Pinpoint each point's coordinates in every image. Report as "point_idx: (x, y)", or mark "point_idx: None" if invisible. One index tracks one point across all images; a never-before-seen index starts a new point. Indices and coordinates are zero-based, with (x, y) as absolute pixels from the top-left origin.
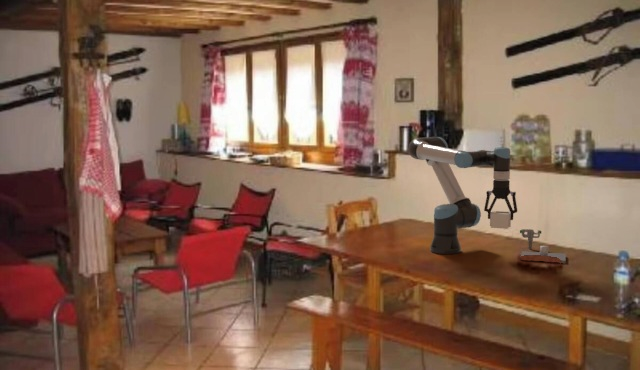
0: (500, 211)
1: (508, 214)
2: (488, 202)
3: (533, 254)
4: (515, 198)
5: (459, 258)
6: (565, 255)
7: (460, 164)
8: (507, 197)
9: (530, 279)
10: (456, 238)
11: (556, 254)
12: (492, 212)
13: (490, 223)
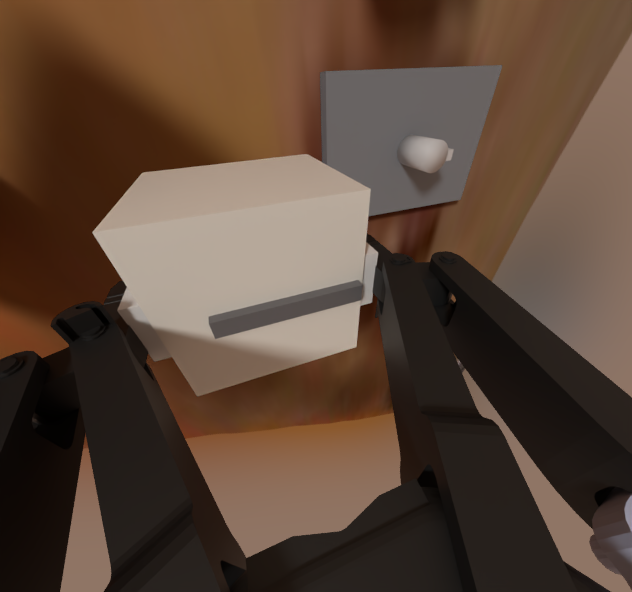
0: (244, 241)
1: (355, 342)
2: (17, 518)
3: (374, 142)
4: (619, 399)
5: (92, 296)
6: (489, 105)
7: None
8: (505, 479)
9: (354, 360)
10: None
11: (462, 98)
12: (179, 354)
13: None
